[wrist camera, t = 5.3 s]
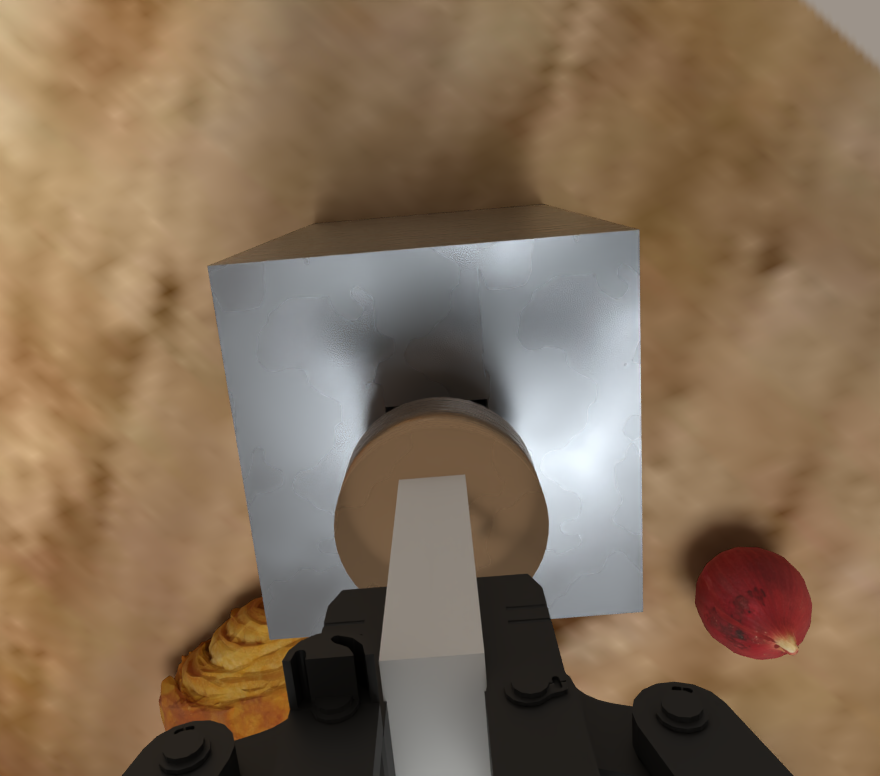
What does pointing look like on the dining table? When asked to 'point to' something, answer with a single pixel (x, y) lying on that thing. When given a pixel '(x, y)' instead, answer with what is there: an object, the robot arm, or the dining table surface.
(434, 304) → the grey peg holder block
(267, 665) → the croissant
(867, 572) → the dining table surface
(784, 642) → the onion
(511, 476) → the plunger
